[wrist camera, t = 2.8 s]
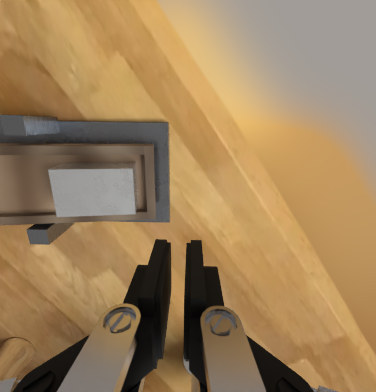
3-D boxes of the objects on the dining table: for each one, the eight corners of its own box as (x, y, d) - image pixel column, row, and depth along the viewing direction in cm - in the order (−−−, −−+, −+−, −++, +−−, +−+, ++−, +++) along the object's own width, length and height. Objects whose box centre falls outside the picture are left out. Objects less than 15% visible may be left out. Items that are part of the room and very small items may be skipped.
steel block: (136, 162, 26) (132, 168, 22) (138, 201, 28) (135, 214, 24) (64, 162, 25) (48, 169, 21) (71, 203, 27) (56, 217, 23)
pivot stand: (168, 118, 29) (162, 117, 22) (170, 222, 34) (164, 246, 27) (-63, 115, 29) (-138, 112, 23) (-30, 218, 34) (-84, 241, 27)
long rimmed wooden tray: (153, 143, 27) (153, 145, 25) (155, 211, 30) (155, 219, 28) (-111, 143, 24) (-141, 145, 21) (-80, 219, 26) (-104, 229, 24)
